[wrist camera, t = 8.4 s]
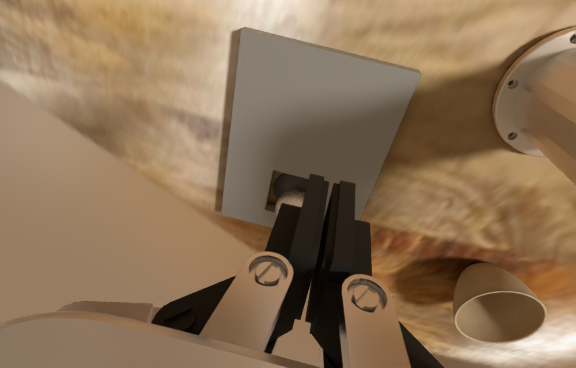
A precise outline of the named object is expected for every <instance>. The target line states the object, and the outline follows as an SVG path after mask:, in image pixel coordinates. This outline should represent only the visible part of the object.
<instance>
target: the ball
mask: <svg viewBox="0 0 576 368" xmlns="http://www.w3.org/2000/svg"><path fill="white" fill-rule="evenodd" d="M304 196H305V192H304V191H302V190H297V189H292V190H288V191H286V192H284V193H283V194H282V195H281V196H280V197H279V198H278V200H277V202H276V206H275V213H276V216H277V215H278V212H279V209H280V206H281V204H282V203H286V204H290V205H294V206H298V207H302V203H303V200H304Z"/></svg>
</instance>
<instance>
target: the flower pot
mask: <svg viewBox="0 0 576 368" xmlns="http://www.w3.org/2000/svg"><path fill="white" fill-rule="evenodd" d="M453 315H454V322H455V326H456V328H457V329H458V331H459V332H460V333H461V334H463V335H464V336H465V337H467V338H469V339H471V340H474V341H477V342H481V343H487V344H506V343H512V342H517V341H520V340H523V339H525V338H528V337H530V336H532V335H533V334H535V333H536V332H538V331H539V330H540V329H541V328H542V326H543V325H544V323H545V322H546V319H547V311H546V308H545V306H544V305H543V304H542V302H541V301H540V300H539V298H538V297H537V296H536V295H535V294H534V293H533V292H532V291H531V290H530V289H529V288H528V287H527V286H526V285H525V284H524V283H523V282H521V281H520V280H519V279H518V278H516V277H515V276H513V275H512V274H510V273H509V272H507V271H505V270H504V269H502V268H500V267H498V266H495V265H493V264H490V263H476V264H472V265H470V266H468V267H466V268H465V269H464V270H463V271H462V273H461V274H460V276H459V279H458V281H457V284H456V287H455V291H454V297H453Z"/></svg>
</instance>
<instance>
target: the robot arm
mask: <svg viewBox="0 0 576 368" xmlns="http://www.w3.org/2000/svg"><path fill="white" fill-rule="evenodd" d="M572 35H573V37H572V38H571V36H572ZM570 38H571V39H570ZM510 81H512V82H511V83H510V84H508V83H509V82H510ZM492 115H493V121H494V124H495V128H496V129H497V131H498V133H499V134H500V136H501V137H502V138H503V139H504V141H505V142H506V143H508V144H509V145H510V146H511V147H513V148H514V149H516V150H518V151H520V152H522V153H524V154H528V155H532V156H538V157H547V158H548V159H549V160H550V161H551V162H552V163H553V164H554V165H555V166H556V167H557V168H558V169H560V170H561V171H562V172H563V173H564V174H565V175H566V176H567V177H568V178H569V179H570V180H571V181H572V182H573V183H574V184H575V185H576V26H574V27H571V28H568V29H565V30H562V31H559V32H557V33H555V34H552V35H550V36H548V37H546V38H544V39H542V40H541V41H539V42H538V43H536V44H535V45H533V46H532V47H530V48H529V49H528V50H527V51H526V52H524V53H523V54H522V55H521V56H520V57H519V58H518V59H517V60H516V61H515V62H514V63H513V64H512V65H511V67H510V68H509V69H508V70H507V71H506V73H505V75H504V76H503V78H502V80H501V81H500V83H499V85H498V88H497V90H496V93H495V95H494V100H493V105H492ZM510 133H511V134H510ZM328 188H329V181H324V176H320V175H315V174H311V173H310V176H309V180H308V184H307V188H306V192H305V196H304V200H303V203H302V207H298V206H294V205H290V204H286V203H282V204H281V206H280V209H279V212H278V215H277V218H276V221H275V223H274V226H273V229H272V232H271V235H270V238H269V241H268V244H267V247H266V250H265V252H259V253H256V254H254V255H252V256H250V257H249V258H248V259H247V260H246V262H245V263H244V265H243V266H242V268H241V270H240V271H239V273H238V274H237V275H236V276H234V277H231V278H229V279H226V280H224V281H221V282H219V283H217V284H214V285H212V286H209V287H207V288H204V289H202V290H199V291H197V292H194V293H192V294H189V295H187V296H185V297H182V298H180V299H177V300H175V301H172V302H170V303H168V304H167V305H165V306H163V307H162V308H158V307H157V308H156V307H153V304H151V303H124V302H99V301H80V302H73V303H71V304H68V305H66V306H63V307H62V308H61V309H59V310H58V311H57V312H48V313H39V314H33V315H28V316H22V317H19V318H15V319H11V320H8V321H6V322H3V323H0V368H444V367H443V366H442V365H441V364H440V363H439V362H438V361H437V360H436V359H435V358H434V357H433V356H432V355H431V354H430V353H429V352H428V351H427V349H426V348H425V347H424V346H423V345H422V344H421V343H420V342H419V341H418V340H417V339H416V338H415V337H414V336H413V335H412V334H411V333H410V332H409V331H408V330H407V329H406V328H405V327H404V326H403V325H402V324H401V323H400V322H399V321H398V317H397V313H396V310H395V306H394V302H393V298H392V296H391V294H390V291H389V290H388V289H387V287H386V286H385V285H384V284H383V283H381V282H380V281H379V280H377V279H375V278H373V277H372V264H371V235H370V224H369V223H367V222H363V221H359V220H355V188H356V184H355V183H351V182H347V181H342V180H340V183H339V184H338V183H334V184H333V187H332V191H331V195H330V198H329V202H328V206H327V210H326V213H325V208H326V201H327V195H328ZM324 214H325V217H324ZM311 280H312V281H311ZM310 283H311V288H310V294H309V300H308V306H307V312H306V319H305V321H306V322H309V323H311V327H310V334H312V335H313V336H314V338H315V339H316V341H317V342H318V343H319V345H320V348H319V367H316V366H312V365H309V364H305V363H301V362H298V361H294V360H290V359H286V358H282V357H279V356H275V355H273V353H274V350H275V348H276V345H277V343H278V338H279V337H280V336H282V335H284V334H285V333H287V332H289V331H291V330H292V328H293V324H294V320H295V319H298V320H300V319H301V315H302V311H303V308H304V305H305V301H306V298H307V294H308V290H309V287H310Z"/></svg>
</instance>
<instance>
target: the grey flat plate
mask: <svg viewBox="0 0 576 368" xmlns="http://www.w3.org/2000/svg"><path fill="white" fill-rule="evenodd" d="M420 76H421V73H420V71H419V70H416V69H412V68H408V67H404V66H400V65H396V64H392V63H388V62H384V61H380V60H376V59H372V58H368V57H364V56H360V55H356V54H352V53H348V52H344V51H340V50H336V49H332V48H328V47H324V46H320V45H316V44H311V43H307V42H303V41H299V40H295V39H291V38H287V37H283V36H279V35H275V34H271V33H267V32H263V31H259V30H255V29H251V28H247V27H244V28H243V29H241V35H240V44H239V53H238V63H237V72H236V81H235V90H234V99H233V109H232V118H231V127H230V136H229V146H228V155H227V164H226V173H225V182H224V192H223V201H222V210H221V215H223V216H227V217H231V218H235V219H239V220H243V221H246V222H250V223H254V224H258V225H262V226H266V227H269V228H273V226H274V223H275V221H276V218H277V216H276V213H275V205H272V204H268V203H267V201H268V197H269V192H270V187H271V182H272V177H273V172H274V170H275V171H279V172H283V173H285V174H283V175H281V176H280V177H278V178H277V180H276V181H275V183H274V194H275V196H276V198H277V199H278V198H279V197H280V196H281V195H282V194H283V193H284V192H286V191H288V190H292V189H297V190H302V191H304V192H306V188H307V184H308V180H309V176H310V173H311V174H315V175H320V176H324V181H329V188H328V195H327V201H326V208H325V213H326V210H327V206H328V202H329V198H330V195H331V191H332V187H333V184H334V183H338V184H339V183H340V180H342V181H347V182H351V183H355V184H356V188H355V220H360V218H361V215H362V213H363V211H364V208H365V206H366V204H367V201H368V199H369V197H370V194H371V192H372V190H373V187H374V185H375V182H376V180H377V178H378V175H379V173H380V171H381V168H382V166H383V164H384V161H385V159H386V157H387V154H388V152H389V149H390V147H391V145H392V142H393V140H394V138H395V135H396V133H397V131H398V128H399V126H400V123H401V121H402V119H403V116H404V114H405V112H406V109H407V107H408V105H409V102H410V100H411V98H412V95H413V93H414V90H415V88H416V86H417V83H418V81H419V79H420ZM324 217H325V214H324Z"/></svg>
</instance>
